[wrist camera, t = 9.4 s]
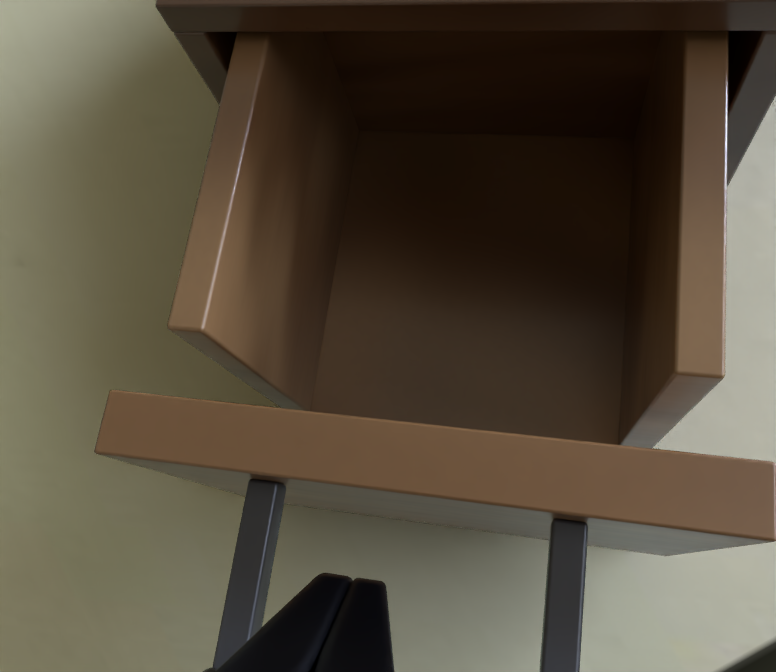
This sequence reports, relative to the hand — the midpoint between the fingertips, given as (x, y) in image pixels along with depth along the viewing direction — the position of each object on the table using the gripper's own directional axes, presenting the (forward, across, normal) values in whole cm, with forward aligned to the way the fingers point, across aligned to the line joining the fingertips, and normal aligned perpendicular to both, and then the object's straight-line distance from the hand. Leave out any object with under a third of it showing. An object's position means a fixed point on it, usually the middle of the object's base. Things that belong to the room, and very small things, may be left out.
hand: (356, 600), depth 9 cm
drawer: (+12, 0, +4) cm, 13 cm away
